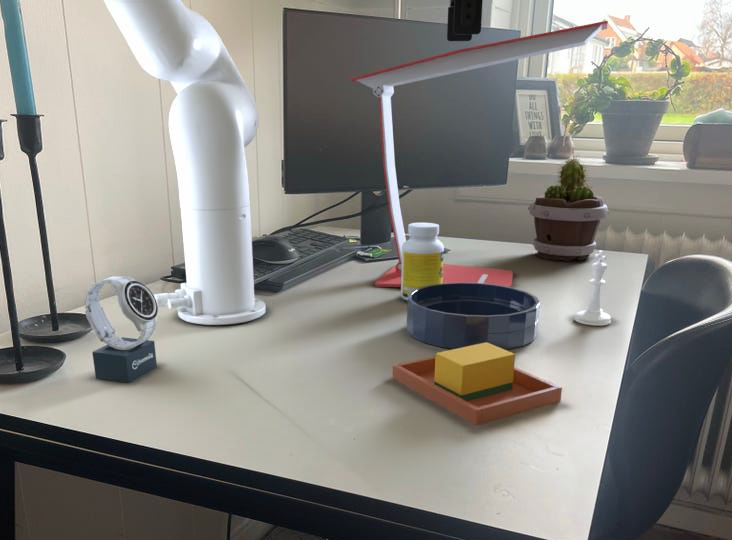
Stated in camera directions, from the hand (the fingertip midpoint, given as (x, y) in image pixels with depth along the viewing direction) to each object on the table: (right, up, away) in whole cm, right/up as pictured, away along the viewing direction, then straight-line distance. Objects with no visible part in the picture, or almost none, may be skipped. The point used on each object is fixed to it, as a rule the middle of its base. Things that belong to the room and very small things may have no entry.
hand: (462, 37), depth 88 cm
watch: (-40, -42, -7) cm, 58 cm away
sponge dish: (-1, -44, -13) cm, 46 cm away
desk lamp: (+5, -27, +34) cm, 44 cm away
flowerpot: (+29, -20, +54) cm, 64 cm away
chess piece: (+20, -35, +12) cm, 42 cm away
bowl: (+2, -37, +6) cm, 37 cm away
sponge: (-1, -43, -13) cm, 45 cm away
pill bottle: (-3, -31, +23) cm, 39 cm away
